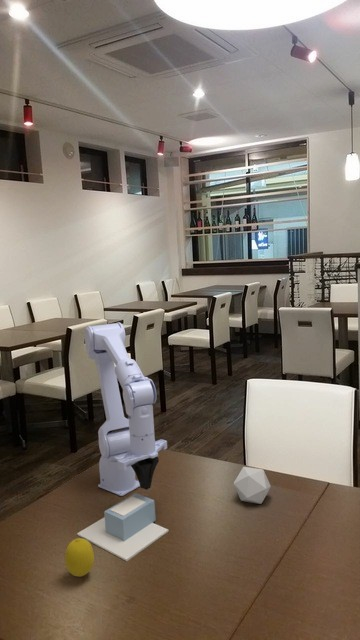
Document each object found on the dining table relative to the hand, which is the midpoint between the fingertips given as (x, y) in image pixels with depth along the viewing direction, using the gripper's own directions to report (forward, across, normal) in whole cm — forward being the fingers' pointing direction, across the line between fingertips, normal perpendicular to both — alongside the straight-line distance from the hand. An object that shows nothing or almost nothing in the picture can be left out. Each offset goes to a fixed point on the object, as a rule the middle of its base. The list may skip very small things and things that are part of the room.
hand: (145, 487), depth 115 cm
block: (+5, 0, 0) cm, 5 cm away
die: (+8, +21, -16) cm, 28 cm away
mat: (+8, -8, 0) cm, 11 cm away
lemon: (+8, -23, -4) cm, 25 cm away
